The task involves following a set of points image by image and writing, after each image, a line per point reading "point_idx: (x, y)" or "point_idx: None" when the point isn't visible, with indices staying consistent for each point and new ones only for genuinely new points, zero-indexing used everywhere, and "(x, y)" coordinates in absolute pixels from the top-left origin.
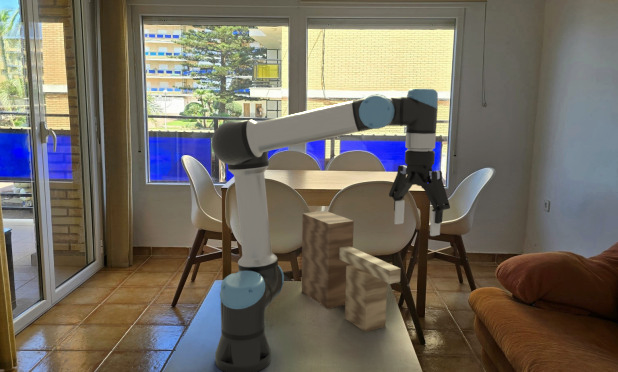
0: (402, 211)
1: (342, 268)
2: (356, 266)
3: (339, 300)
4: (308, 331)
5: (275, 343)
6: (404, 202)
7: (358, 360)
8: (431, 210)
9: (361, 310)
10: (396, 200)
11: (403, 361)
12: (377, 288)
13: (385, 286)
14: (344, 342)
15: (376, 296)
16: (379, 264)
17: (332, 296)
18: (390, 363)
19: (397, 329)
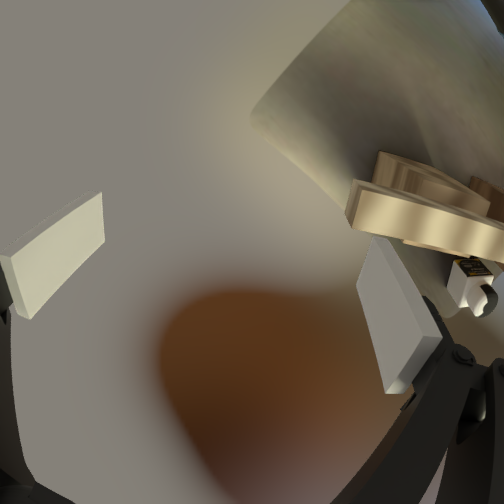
0: (375, 322)
1: None
2: (472, 212)
3: None
4: (441, 82)
5: (439, 18)
6: (383, 381)
7: (317, 63)
8: (9, 257)
9: (404, 161)
10: (439, 353)
11: (265, 118)
12: None
13: None
14: (377, 92)
15: None
16: (413, 210)
17: (480, 192)
18: (275, 96)
19: (345, 201)
